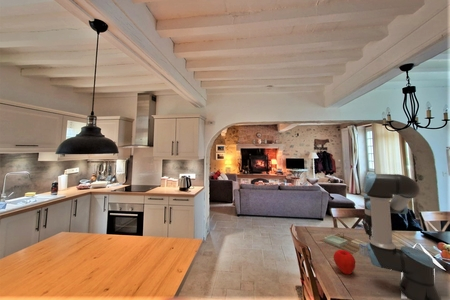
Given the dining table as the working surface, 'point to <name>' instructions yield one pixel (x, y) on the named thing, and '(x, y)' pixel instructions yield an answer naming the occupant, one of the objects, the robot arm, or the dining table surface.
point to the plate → (356, 242)
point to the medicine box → (363, 249)
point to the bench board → (347, 247)
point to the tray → (335, 240)
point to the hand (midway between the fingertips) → (372, 244)
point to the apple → (344, 261)
